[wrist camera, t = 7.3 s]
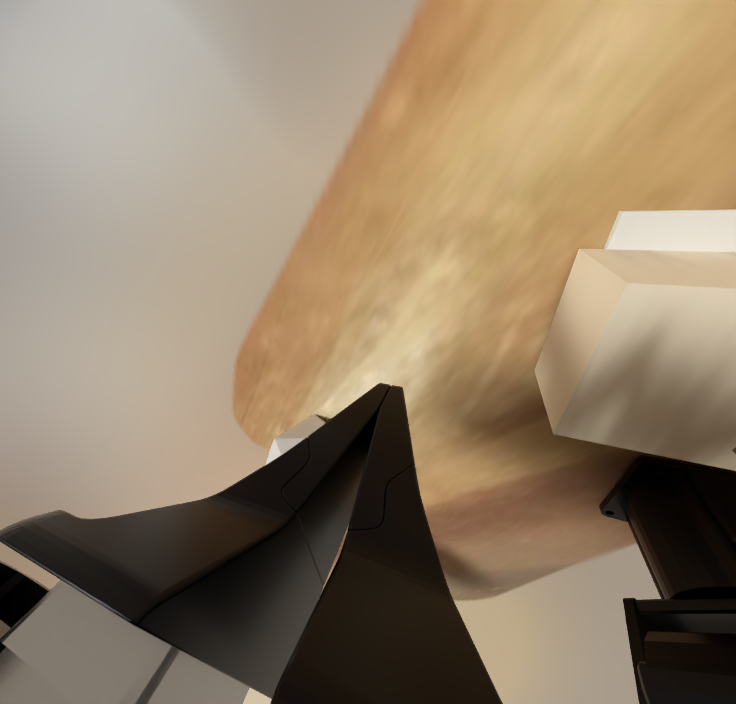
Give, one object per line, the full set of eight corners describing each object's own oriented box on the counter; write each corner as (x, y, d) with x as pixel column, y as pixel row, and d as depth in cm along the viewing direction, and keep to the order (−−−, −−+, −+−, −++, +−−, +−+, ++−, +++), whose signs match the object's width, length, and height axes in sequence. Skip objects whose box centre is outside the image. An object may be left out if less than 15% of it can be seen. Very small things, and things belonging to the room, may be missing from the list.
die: (282, 421, 30) (271, 522, 26) (256, 404, 22) (234, 545, 18) (356, 421, 30) (355, 520, 26) (356, 403, 22) (355, 541, 18)
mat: (726, 418, 14) (730, 422, 14) (545, 389, 17) (546, 392, 16) (932, 206, 9) (944, 207, 9) (619, 211, 11) (622, 211, 11)
